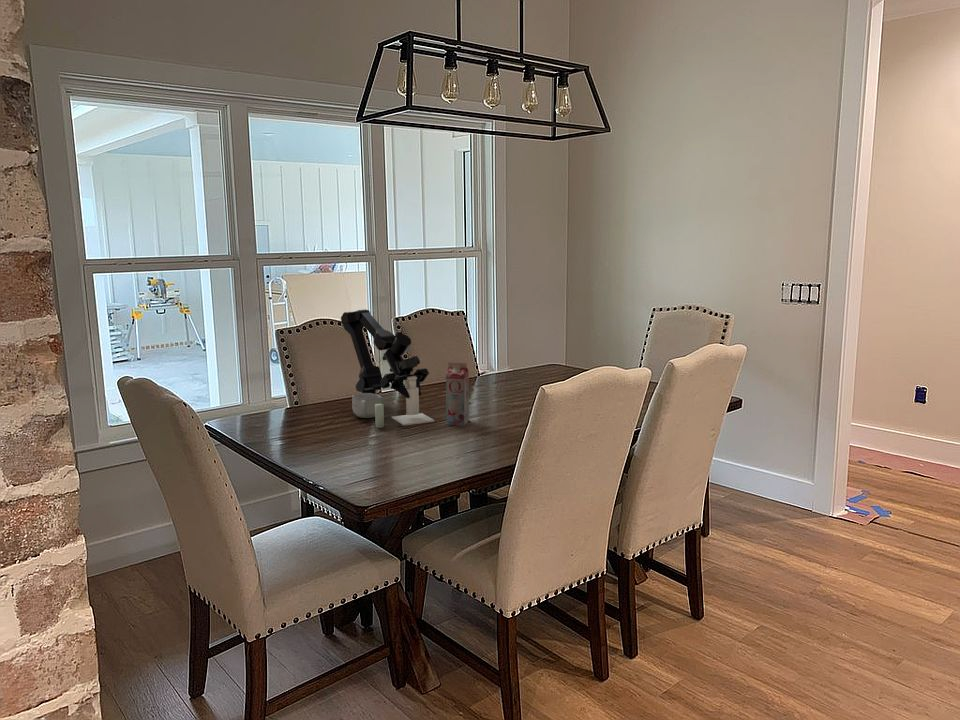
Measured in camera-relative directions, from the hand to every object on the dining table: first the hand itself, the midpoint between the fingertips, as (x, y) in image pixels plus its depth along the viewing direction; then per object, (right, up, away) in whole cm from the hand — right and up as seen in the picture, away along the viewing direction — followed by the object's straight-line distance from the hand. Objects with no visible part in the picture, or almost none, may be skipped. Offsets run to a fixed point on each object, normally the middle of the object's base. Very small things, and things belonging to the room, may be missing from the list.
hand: (414, 396), depth 276 cm
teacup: (-19, -8, +7) cm, 22 cm away
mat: (-1, -9, +3) cm, 9 cm away
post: (-12, -10, -7) cm, 17 cm away
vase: (-1, -6, +2) cm, 7 cm away
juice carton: (+16, -10, -1) cm, 18 cm away
